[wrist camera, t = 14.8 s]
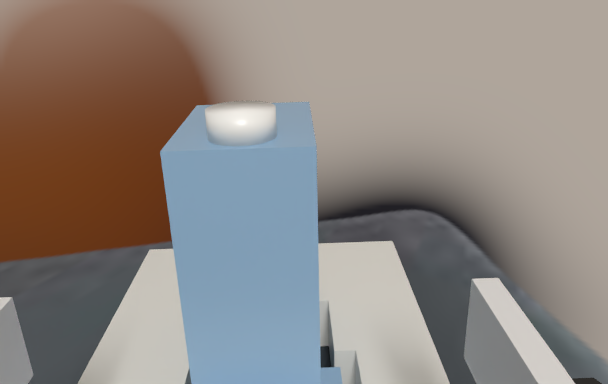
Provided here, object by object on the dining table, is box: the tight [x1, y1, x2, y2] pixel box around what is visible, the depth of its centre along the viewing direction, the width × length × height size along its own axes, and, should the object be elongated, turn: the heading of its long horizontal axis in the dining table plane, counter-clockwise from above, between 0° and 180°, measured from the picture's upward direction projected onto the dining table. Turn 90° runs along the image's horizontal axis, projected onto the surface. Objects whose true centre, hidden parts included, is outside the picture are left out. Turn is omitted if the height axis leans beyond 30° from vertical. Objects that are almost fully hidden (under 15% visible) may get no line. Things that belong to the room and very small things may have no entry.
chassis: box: [78, 241, 450, 384], centre depth 25 cm, size 22×16×3 cm
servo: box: [160, 101, 342, 384], centre depth 22 cm, size 11×6×15 cm, turn 1°
